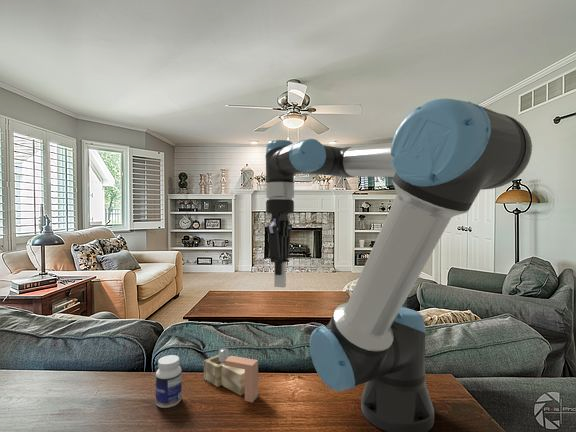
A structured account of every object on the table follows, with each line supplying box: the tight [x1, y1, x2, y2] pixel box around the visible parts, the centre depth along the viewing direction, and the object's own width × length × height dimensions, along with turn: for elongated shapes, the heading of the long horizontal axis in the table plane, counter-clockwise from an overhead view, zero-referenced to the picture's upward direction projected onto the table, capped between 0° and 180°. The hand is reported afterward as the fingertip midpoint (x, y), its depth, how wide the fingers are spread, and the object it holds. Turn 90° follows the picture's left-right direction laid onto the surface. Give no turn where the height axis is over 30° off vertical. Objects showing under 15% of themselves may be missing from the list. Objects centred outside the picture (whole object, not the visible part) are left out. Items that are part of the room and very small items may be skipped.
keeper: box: [224, 355, 259, 404], centre depth 78 cm, size 8×3×9 cm, turn 69°
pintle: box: [218, 347, 229, 364], centre depth 87 cm, size 2×2×8 cm
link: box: [203, 354, 245, 396], centre depth 84 cm, size 14×6×5 cm, turn 49°
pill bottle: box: [155, 354, 183, 409], centre depth 76 cm, size 6×6×10 cm
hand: (280, 286), depth 87 cm, fingers closed
